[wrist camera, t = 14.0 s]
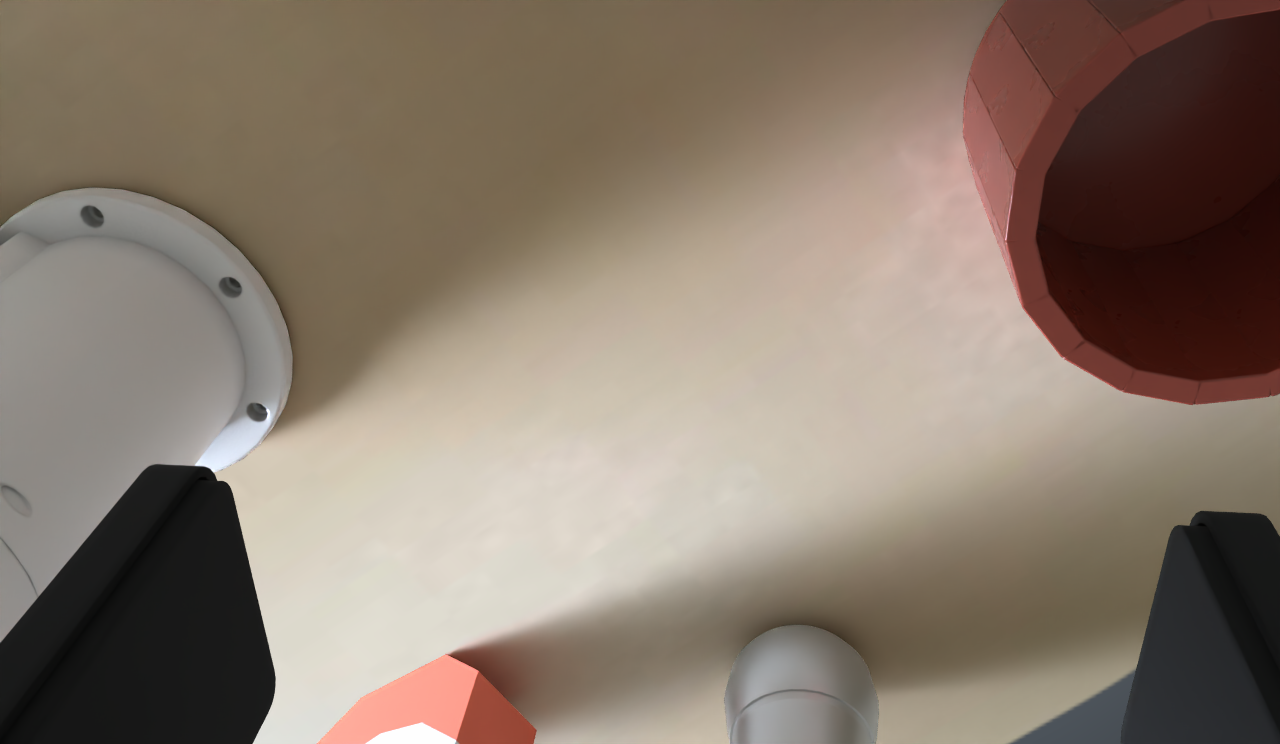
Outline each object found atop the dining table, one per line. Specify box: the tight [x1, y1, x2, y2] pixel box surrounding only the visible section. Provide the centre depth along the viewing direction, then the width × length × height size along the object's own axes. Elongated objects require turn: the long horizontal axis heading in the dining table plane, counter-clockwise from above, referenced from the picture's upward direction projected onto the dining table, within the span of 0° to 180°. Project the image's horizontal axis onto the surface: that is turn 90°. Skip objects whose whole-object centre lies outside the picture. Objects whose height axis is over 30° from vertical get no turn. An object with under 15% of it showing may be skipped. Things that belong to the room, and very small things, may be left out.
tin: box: [963, 0, 1280, 405], centre depth 35 cm, size 12×12×10 cm
